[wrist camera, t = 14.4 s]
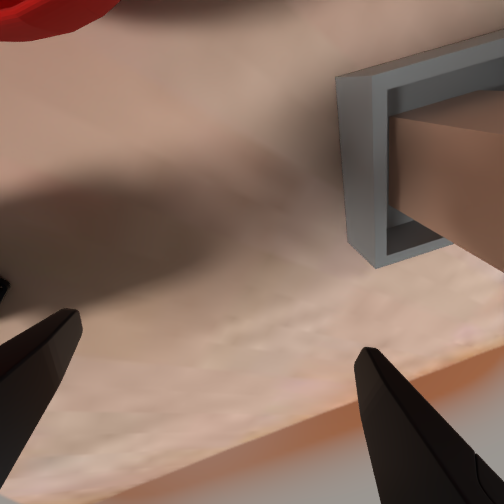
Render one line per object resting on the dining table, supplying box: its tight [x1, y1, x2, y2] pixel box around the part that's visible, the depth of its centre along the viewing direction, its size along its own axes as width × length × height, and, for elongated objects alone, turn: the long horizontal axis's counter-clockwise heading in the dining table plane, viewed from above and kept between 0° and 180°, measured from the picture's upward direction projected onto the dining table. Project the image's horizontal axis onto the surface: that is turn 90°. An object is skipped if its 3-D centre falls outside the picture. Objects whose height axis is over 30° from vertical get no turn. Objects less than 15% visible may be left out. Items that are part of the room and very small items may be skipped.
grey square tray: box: [335, 29, 504, 269], centre depth 19 cm, size 12×12×4 cm
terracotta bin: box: [389, 90, 504, 273], centre depth 16 cm, size 6×6×10 cm
